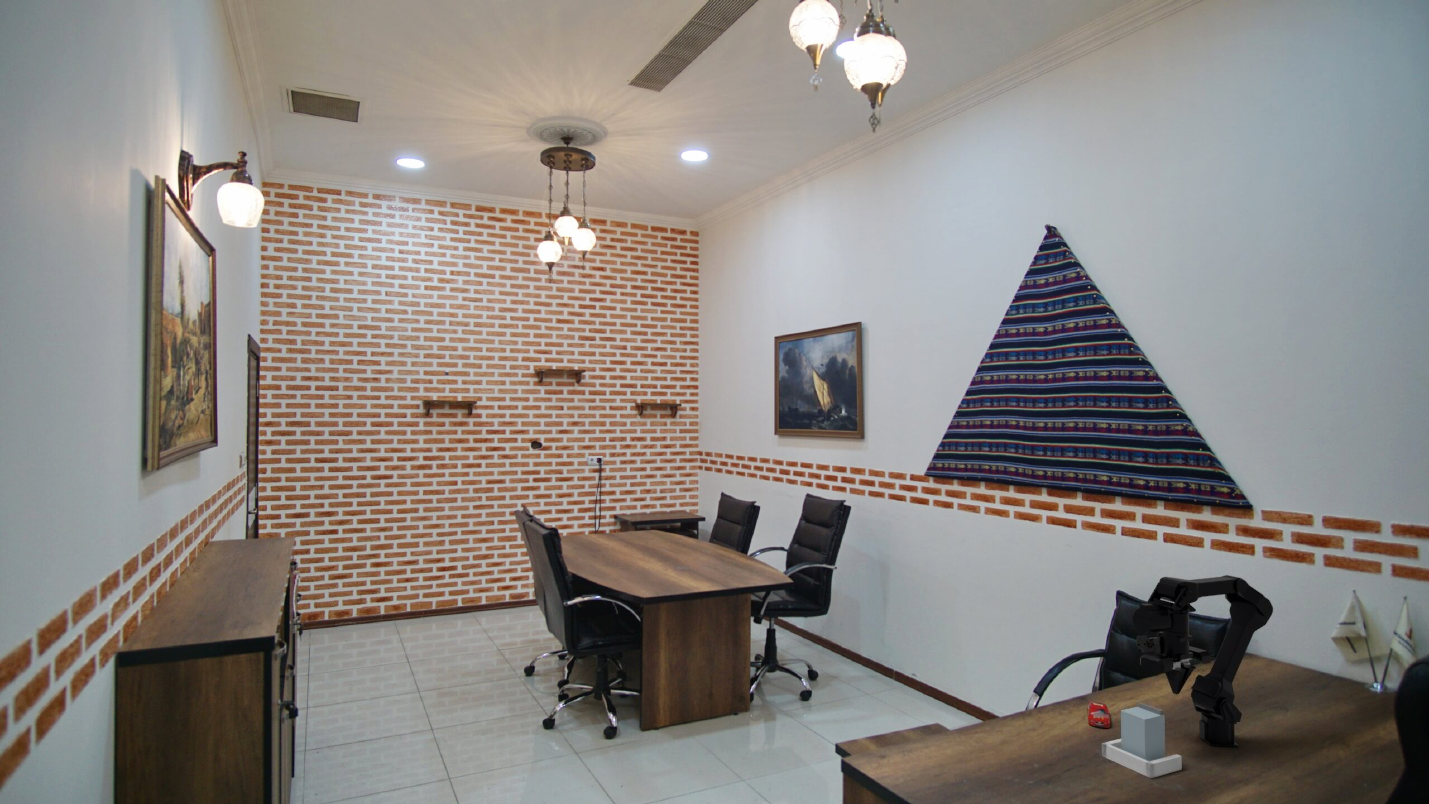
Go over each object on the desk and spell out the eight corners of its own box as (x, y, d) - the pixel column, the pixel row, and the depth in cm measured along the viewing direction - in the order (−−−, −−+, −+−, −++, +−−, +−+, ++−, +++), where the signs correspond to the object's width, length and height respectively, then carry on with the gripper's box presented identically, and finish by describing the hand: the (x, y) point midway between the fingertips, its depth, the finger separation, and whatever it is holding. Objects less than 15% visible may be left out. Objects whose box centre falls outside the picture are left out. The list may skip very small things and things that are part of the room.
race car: (1110, 732, 196) (1110, 716, 196) (1087, 728, 198) (1087, 712, 199) (1109, 714, 208) (1109, 699, 208) (1087, 710, 210) (1087, 696, 210)
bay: (1131, 748, 185) (1131, 735, 185) (1181, 769, 174) (1181, 756, 174) (1101, 756, 181) (1101, 743, 181) (1150, 778, 170) (1150, 764, 170)
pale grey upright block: (1141, 753, 182) (1140, 701, 182) (1165, 763, 176) (1164, 710, 177) (1121, 758, 179) (1120, 706, 179) (1145, 769, 173) (1144, 715, 174)
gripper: (1168, 618, 198) (1168, 678, 198) (1120, 625, 190) (1120, 688, 190) (1211, 629, 188) (1212, 692, 188) (1162, 637, 180) (1163, 703, 180)
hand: (1175, 693), depth 186 cm, fingers closed
